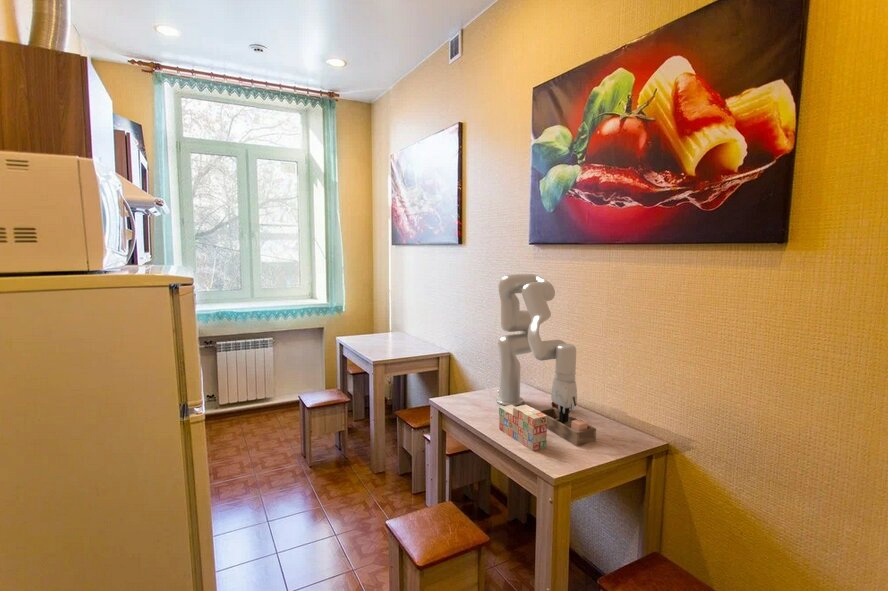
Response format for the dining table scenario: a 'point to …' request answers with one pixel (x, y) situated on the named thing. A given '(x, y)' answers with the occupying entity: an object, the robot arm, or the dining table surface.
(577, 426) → the terracotta block
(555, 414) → the box
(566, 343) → the robot arm
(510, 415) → the stack of blocks
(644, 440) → the dining table surface
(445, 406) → the dining table surface
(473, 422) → the dining table surface
